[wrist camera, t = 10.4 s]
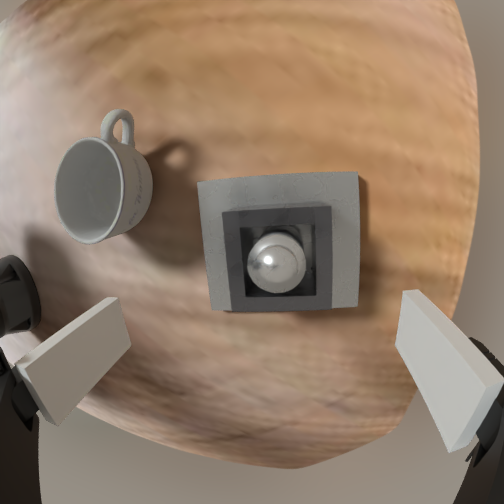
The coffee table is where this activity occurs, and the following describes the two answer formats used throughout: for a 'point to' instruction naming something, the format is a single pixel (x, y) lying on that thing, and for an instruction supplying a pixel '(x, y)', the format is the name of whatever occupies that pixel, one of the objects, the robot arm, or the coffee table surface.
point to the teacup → (103, 183)
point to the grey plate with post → (283, 232)
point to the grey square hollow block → (241, 243)
